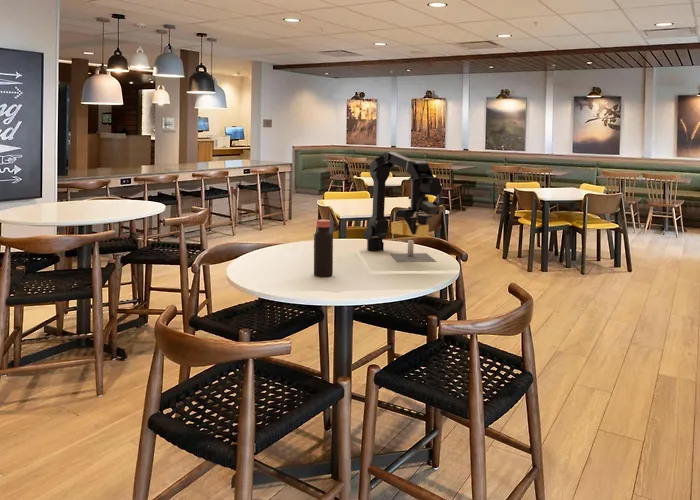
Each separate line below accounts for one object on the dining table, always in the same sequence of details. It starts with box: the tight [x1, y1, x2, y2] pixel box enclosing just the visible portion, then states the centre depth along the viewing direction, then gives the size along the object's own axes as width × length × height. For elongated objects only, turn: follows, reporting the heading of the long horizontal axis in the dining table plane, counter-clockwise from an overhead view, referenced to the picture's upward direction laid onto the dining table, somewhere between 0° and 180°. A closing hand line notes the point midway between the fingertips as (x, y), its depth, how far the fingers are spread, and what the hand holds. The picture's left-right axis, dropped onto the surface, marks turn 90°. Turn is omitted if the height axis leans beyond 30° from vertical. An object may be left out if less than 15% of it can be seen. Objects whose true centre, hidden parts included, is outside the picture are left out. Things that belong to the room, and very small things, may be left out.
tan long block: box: [390, 220, 430, 238], centre depth 242 cm, size 15×6×4 cm, turn 40°
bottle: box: [313, 219, 334, 278], centre depth 220 cm, size 7×7×20 cm
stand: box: [389, 239, 438, 263], centre depth 250 cm, size 16×18×8 cm
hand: (417, 233), depth 240 cm, fingers closed on tan long block, 4 cm apart
